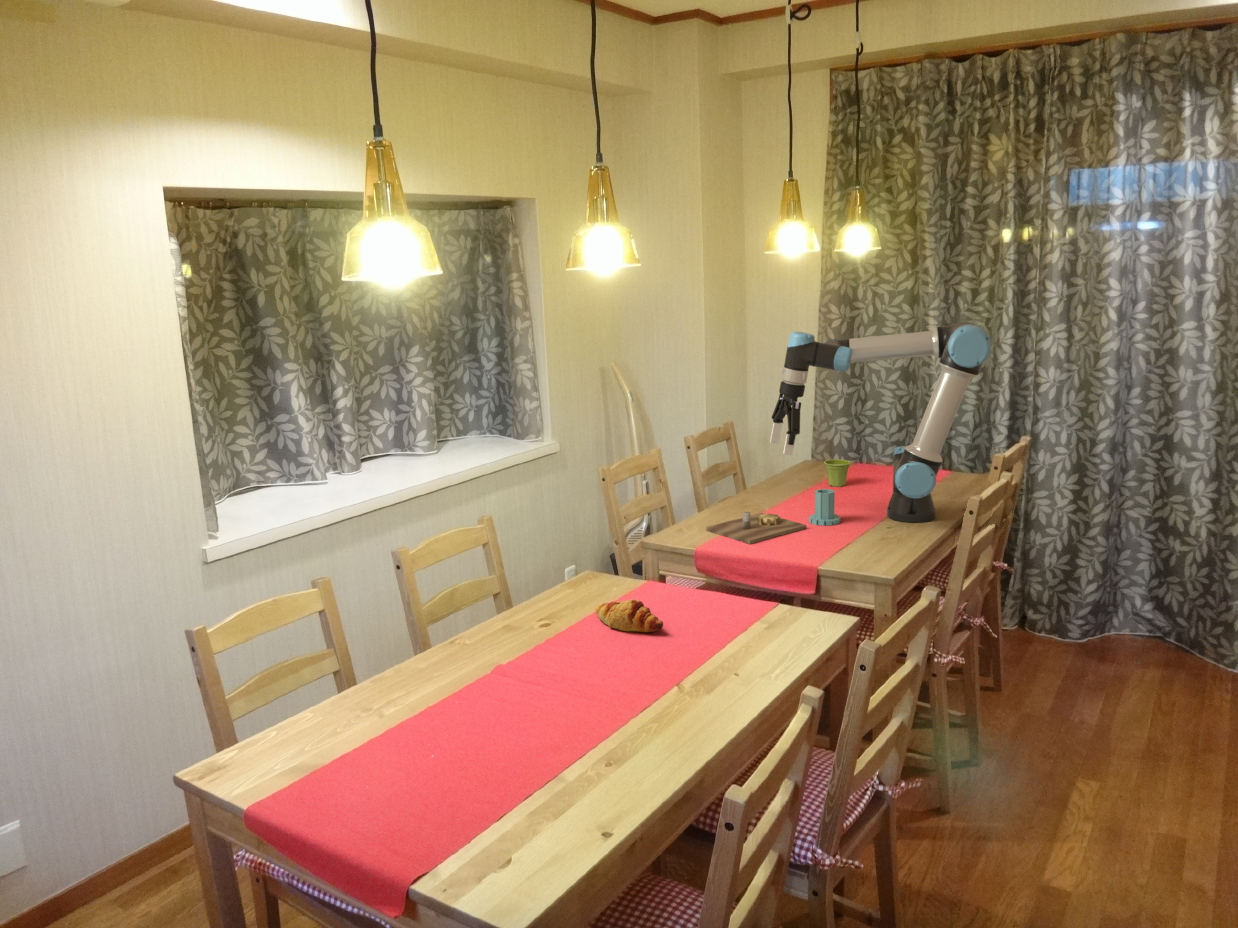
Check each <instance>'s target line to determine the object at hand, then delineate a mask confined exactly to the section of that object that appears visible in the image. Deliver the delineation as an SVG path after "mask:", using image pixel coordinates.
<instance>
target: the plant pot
mask: <svg viewBox="0 0 1238 928" xmlns="http://www.w3.org/2000/svg"><path fill="white" fill-rule="evenodd" d="M823 463H824V464H825V469H826V474H827V482H828V485H829V486H830V487H831V486H832V487H834V488H837V487H839V488H840V487H841V488H842V487H844V486H846V484H847V477H848V471H849V467H850V465H851V463H852V462H851V461H850V460H846V459H837V458H836V459H827V460H825V461H824V462H823Z"/></svg>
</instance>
